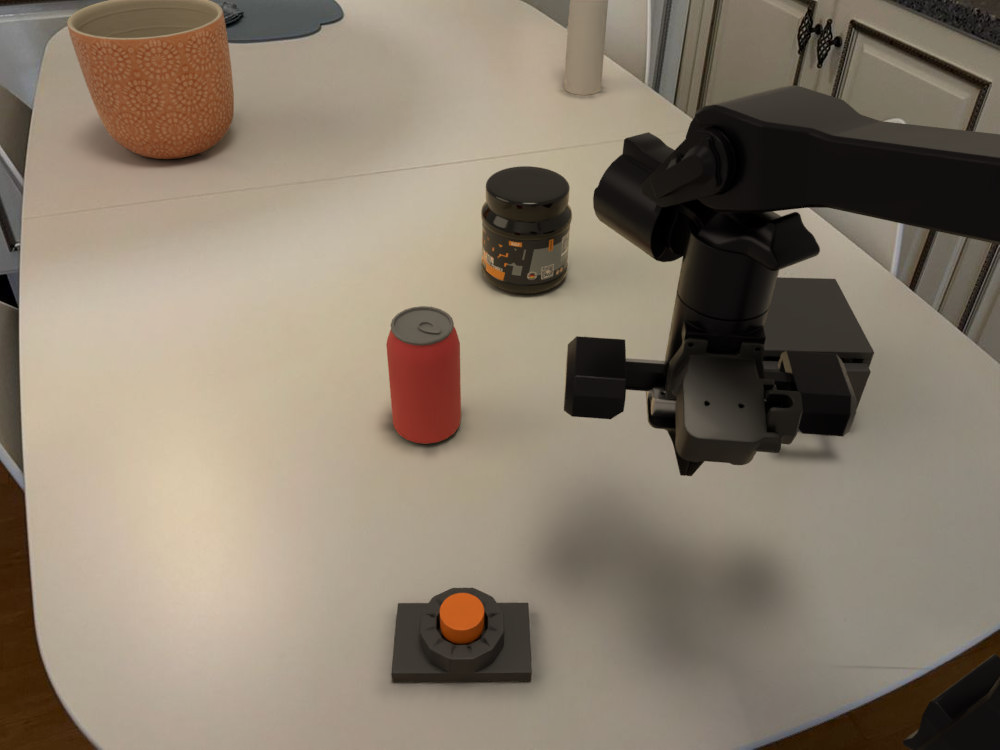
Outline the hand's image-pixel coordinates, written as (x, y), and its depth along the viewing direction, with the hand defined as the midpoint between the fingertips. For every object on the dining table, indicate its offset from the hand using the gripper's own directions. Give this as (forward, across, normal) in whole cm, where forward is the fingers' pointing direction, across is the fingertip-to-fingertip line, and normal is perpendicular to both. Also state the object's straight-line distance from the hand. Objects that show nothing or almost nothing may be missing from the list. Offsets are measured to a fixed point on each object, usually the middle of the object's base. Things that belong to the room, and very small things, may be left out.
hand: (685, 471), depth 63 cm
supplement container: (+11, -15, +43) cm, 47 cm away
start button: (+9, -16, -9) cm, 20 cm away
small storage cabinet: (+11, +13, +26) cm, 31 cm away
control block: (+11, -16, -9) cm, 21 cm away
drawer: (+10, +13, +22) cm, 27 cm away
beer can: (+11, -22, +15) cm, 29 cm away
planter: (+11, -71, +74) cm, 103 cm away
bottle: (+11, -9, +106) cm, 107 cm away
